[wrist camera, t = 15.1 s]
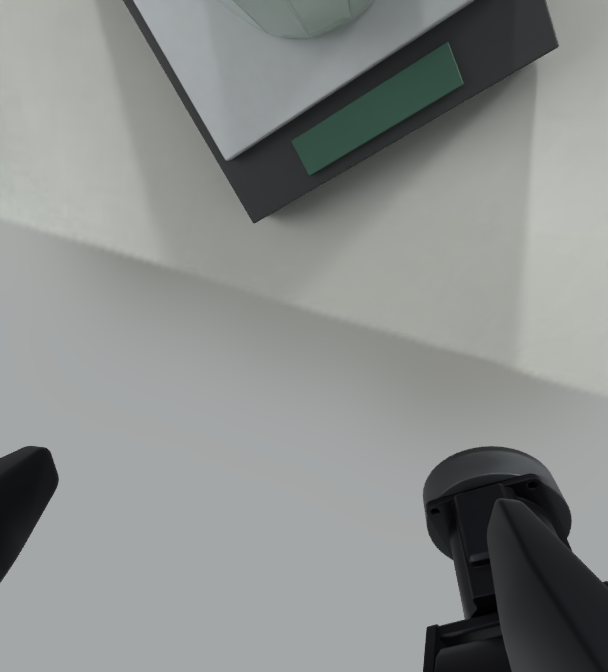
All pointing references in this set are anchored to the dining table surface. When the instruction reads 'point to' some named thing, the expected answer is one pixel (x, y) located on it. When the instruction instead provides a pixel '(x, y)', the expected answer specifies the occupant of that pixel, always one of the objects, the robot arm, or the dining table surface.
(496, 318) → the dining table surface
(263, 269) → the dining table surface
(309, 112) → the scale
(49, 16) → the dining table surface
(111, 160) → the dining table surface
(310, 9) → the tumbler
